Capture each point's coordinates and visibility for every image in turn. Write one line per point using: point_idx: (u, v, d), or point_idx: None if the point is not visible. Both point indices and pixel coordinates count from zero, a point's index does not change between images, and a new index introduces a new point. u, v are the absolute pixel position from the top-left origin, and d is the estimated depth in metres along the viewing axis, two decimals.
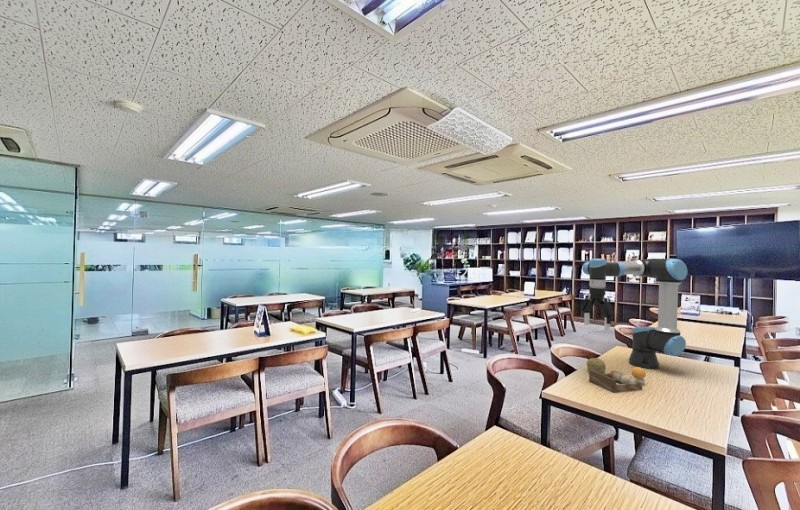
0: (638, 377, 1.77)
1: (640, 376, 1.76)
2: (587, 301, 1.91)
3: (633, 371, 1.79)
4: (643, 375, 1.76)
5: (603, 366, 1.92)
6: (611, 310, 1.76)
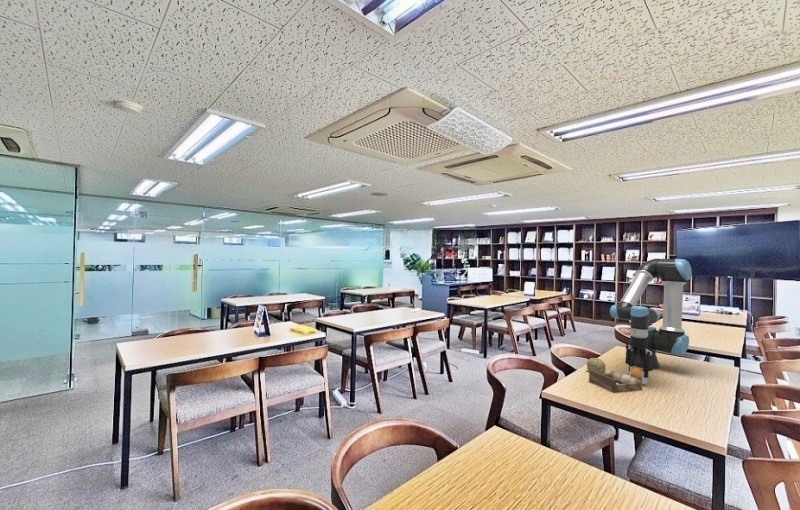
0: (638, 377, 1.77)
1: (640, 376, 1.76)
2: (629, 351, 1.84)
3: (633, 371, 1.79)
4: None
5: (603, 366, 1.92)
6: (651, 364, 1.73)
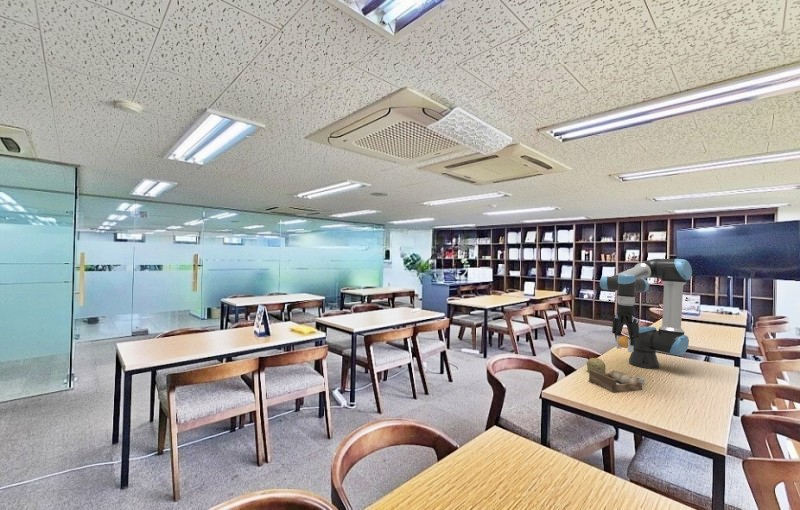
0: (624, 345, 1.74)
1: (626, 344, 1.74)
2: (616, 321, 1.81)
3: (619, 340, 1.76)
4: None
5: (603, 366, 1.92)
6: (637, 332, 1.70)
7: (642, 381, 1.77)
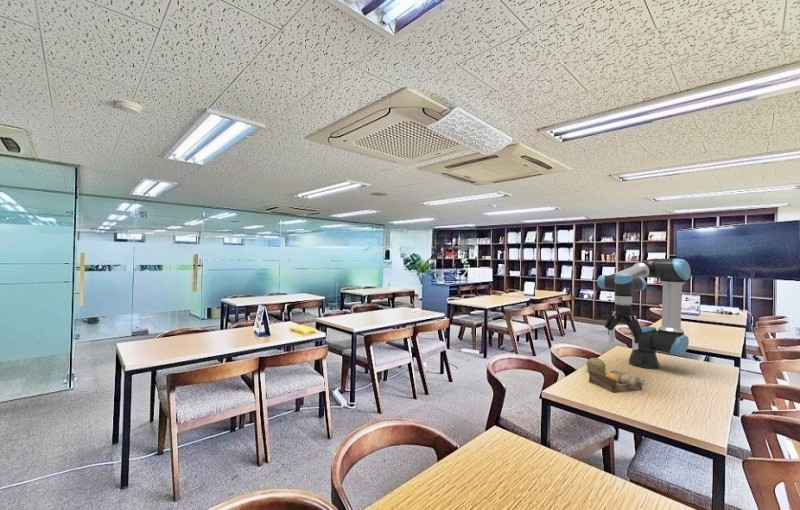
0: None
1: (618, 380, 1.73)
2: (612, 318, 1.83)
3: None
4: (617, 381, 1.72)
5: (603, 366, 1.92)
6: (639, 329, 1.68)
7: (642, 381, 1.77)
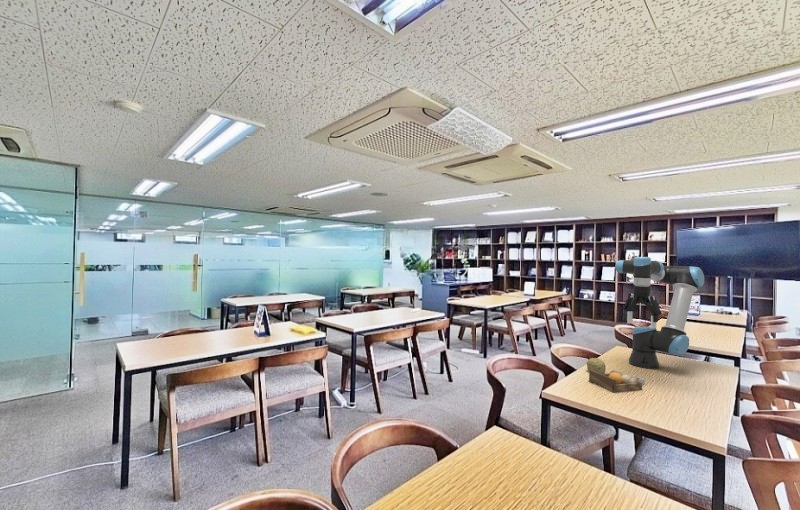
0: None
1: (621, 382, 1.73)
2: (630, 299, 1.91)
3: None
4: (620, 381, 1.73)
5: (603, 366, 1.92)
6: (658, 308, 1.76)
7: (642, 381, 1.77)
